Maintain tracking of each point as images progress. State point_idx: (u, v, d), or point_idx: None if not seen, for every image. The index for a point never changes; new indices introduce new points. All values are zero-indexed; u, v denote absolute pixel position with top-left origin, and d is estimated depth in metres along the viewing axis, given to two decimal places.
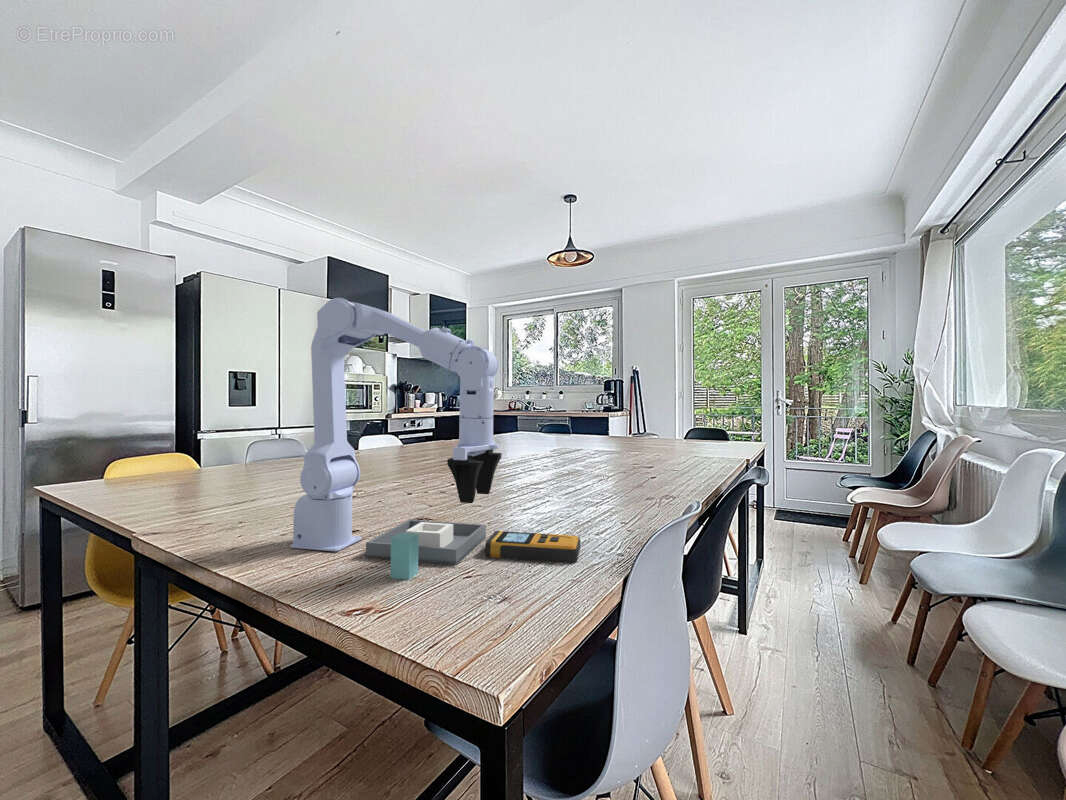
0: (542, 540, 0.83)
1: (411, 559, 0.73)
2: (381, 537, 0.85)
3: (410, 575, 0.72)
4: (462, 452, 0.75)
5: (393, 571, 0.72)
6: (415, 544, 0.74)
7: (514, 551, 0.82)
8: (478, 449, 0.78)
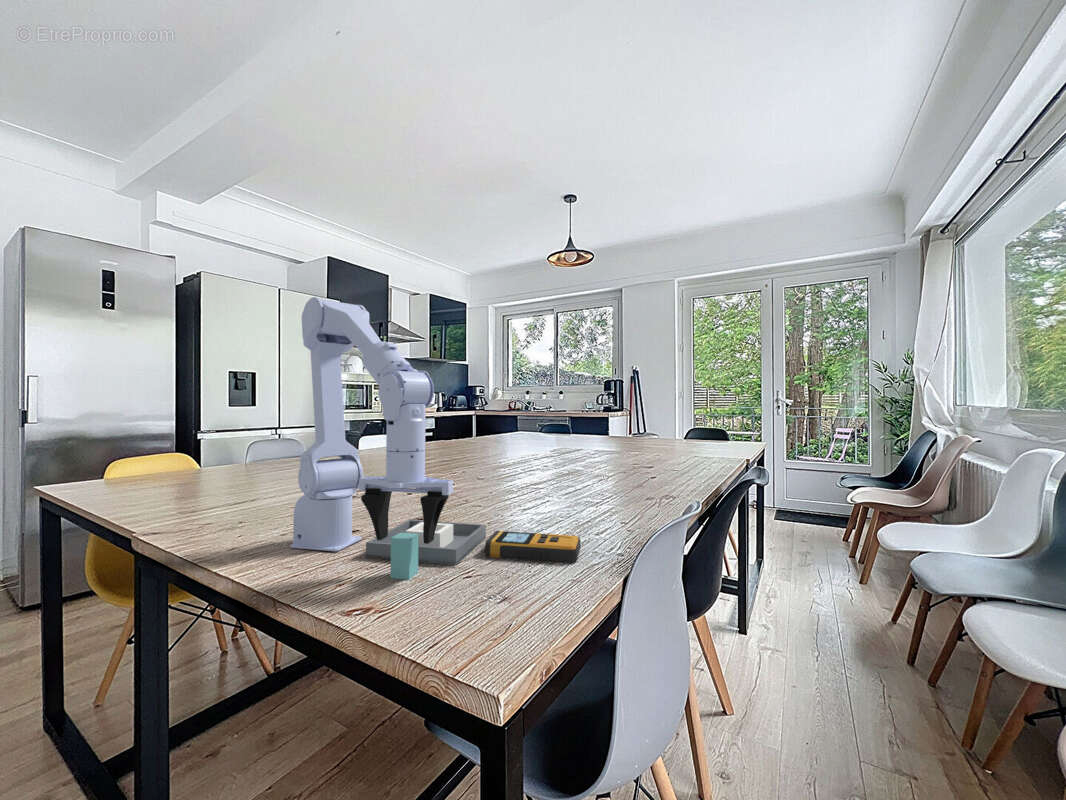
0: (542, 540, 0.83)
1: (411, 559, 0.73)
2: None
3: (410, 575, 0.72)
4: None
5: (393, 571, 0.72)
6: (415, 544, 0.74)
7: (513, 551, 0.82)
8: (376, 483, 0.73)
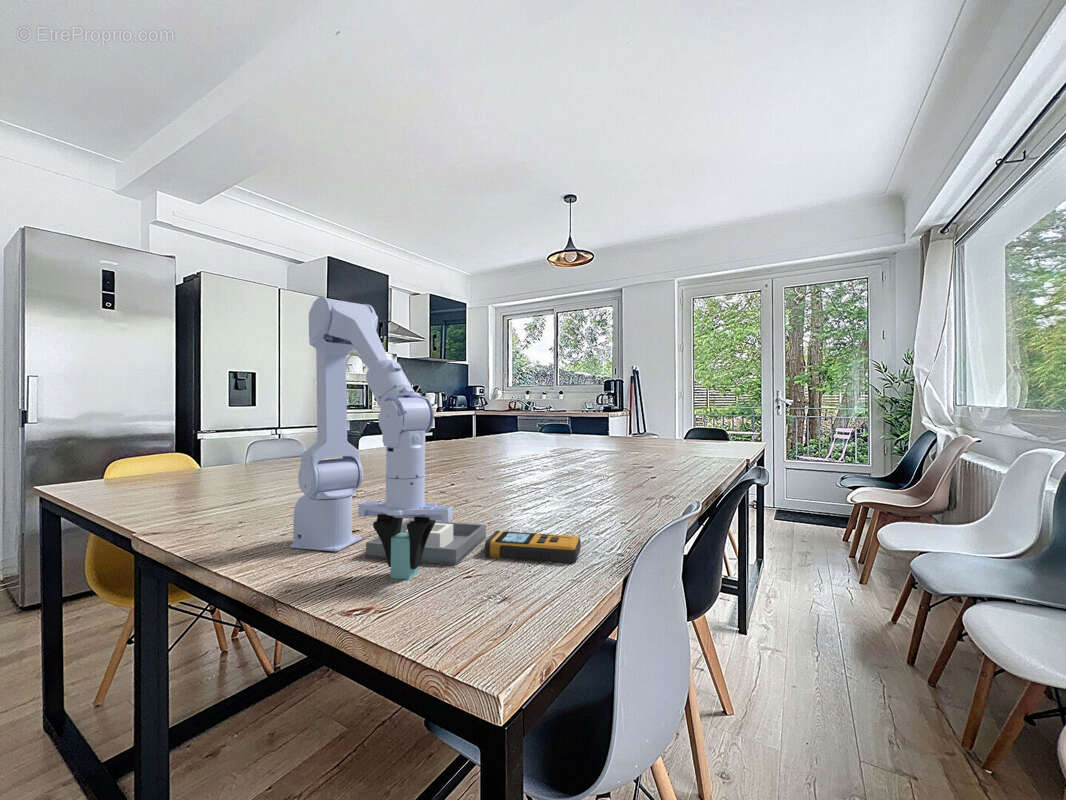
0: (541, 540, 0.83)
1: None
2: None
3: (410, 575, 0.72)
4: None
5: (393, 571, 0.72)
6: None
7: (513, 551, 0.82)
8: (376, 510, 0.73)
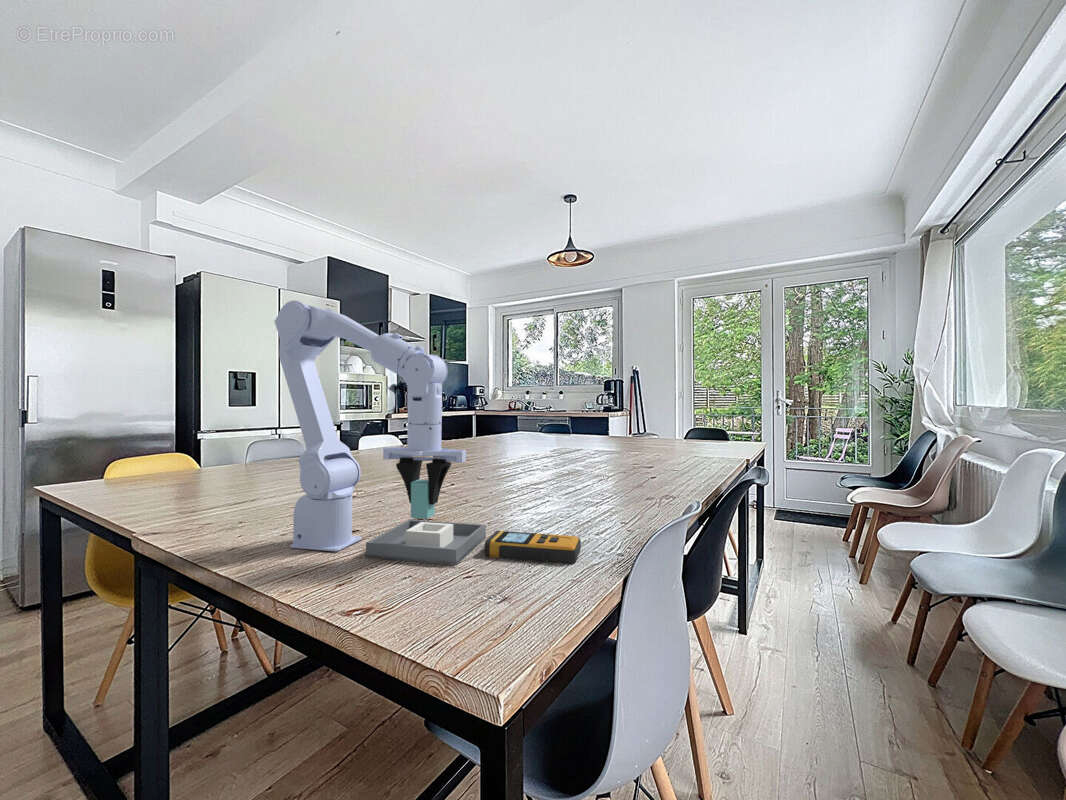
0: (541, 540, 0.83)
1: None
2: (381, 537, 0.85)
3: (428, 515, 0.82)
4: None
5: (413, 511, 0.82)
6: None
7: (513, 551, 0.82)
8: (399, 452, 0.83)
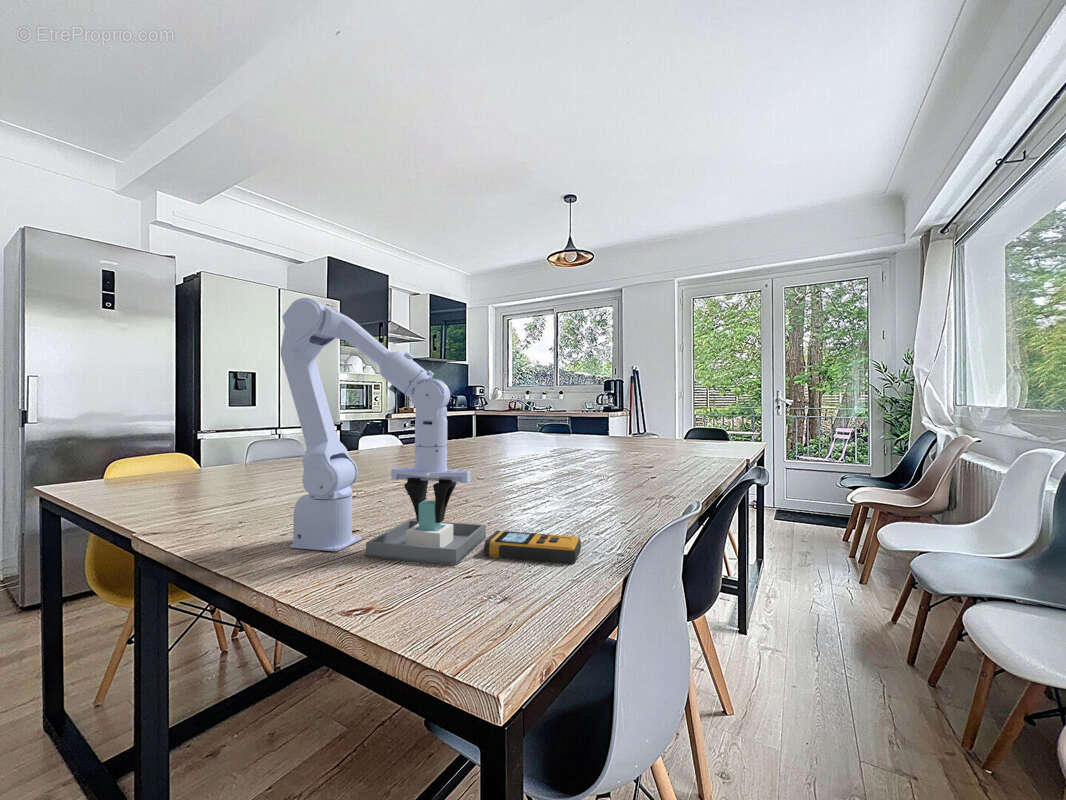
0: (541, 540, 0.83)
1: None
2: (381, 537, 0.85)
3: None
4: None
5: None
6: None
7: (512, 551, 0.82)
8: (407, 473, 0.87)
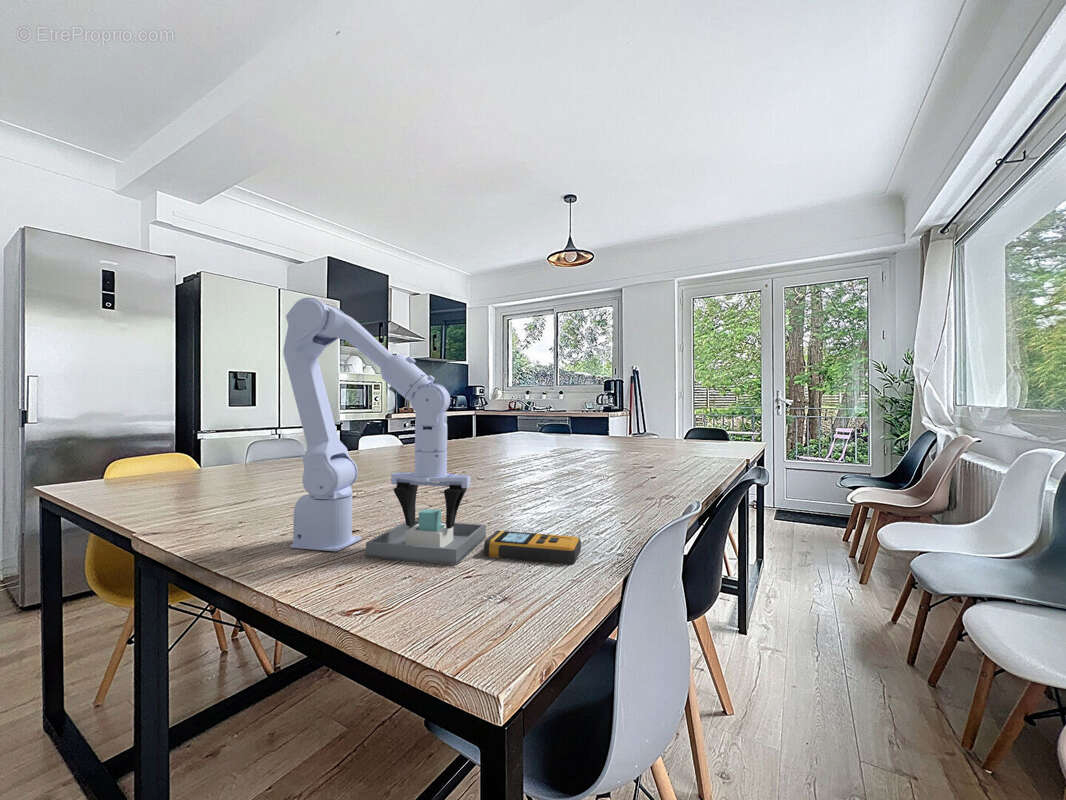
0: (541, 541, 0.83)
1: (436, 530, 0.87)
2: (381, 537, 0.85)
3: None
4: None
5: None
6: (438, 518, 0.88)
7: (512, 551, 0.82)
8: (406, 478, 0.87)
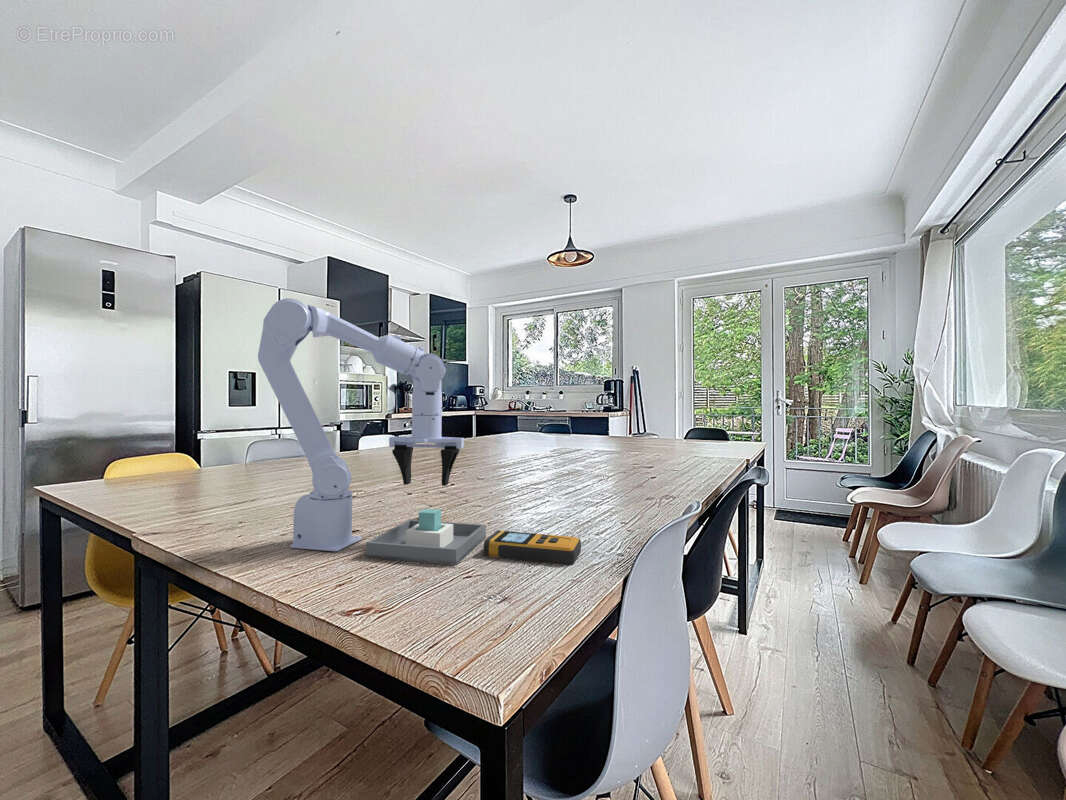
0: (540, 541, 0.83)
1: (436, 530, 0.87)
2: (381, 537, 0.85)
3: None
4: None
5: None
6: (438, 518, 0.88)
7: (511, 551, 0.82)
8: (404, 440, 0.94)
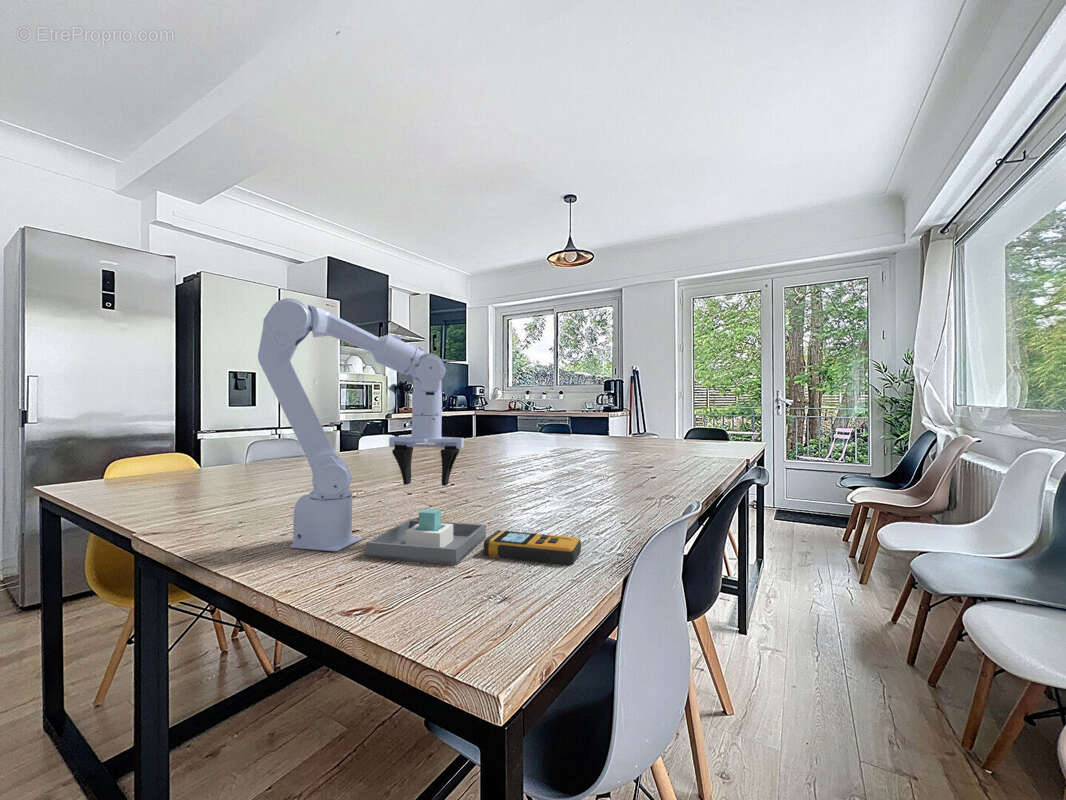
0: (540, 541, 0.83)
1: (436, 530, 0.87)
2: (381, 537, 0.85)
3: None
4: None
5: None
6: (438, 518, 0.88)
7: (511, 551, 0.82)
8: (404, 440, 0.94)
